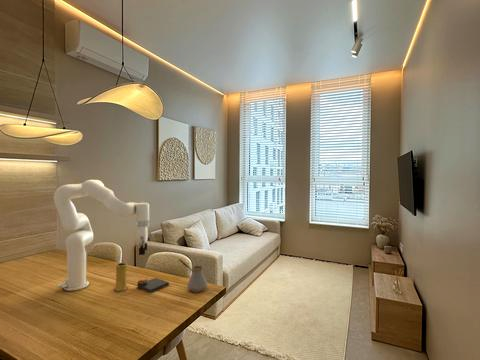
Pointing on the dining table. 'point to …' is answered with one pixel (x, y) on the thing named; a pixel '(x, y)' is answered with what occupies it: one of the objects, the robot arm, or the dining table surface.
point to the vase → (121, 277)
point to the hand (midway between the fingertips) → (143, 252)
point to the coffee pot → (196, 278)
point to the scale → (152, 285)
